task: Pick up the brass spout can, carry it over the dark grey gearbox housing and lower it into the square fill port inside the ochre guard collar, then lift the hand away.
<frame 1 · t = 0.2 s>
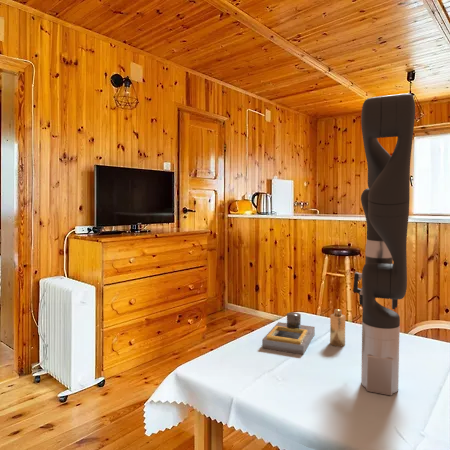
hand: (378, 307, 111), 17 cm above the table, tool pointing down, fingers open, 8 cm apart
gearbox housing: (289, 341, 131), on the table
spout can: (337, 343, 128), on the table
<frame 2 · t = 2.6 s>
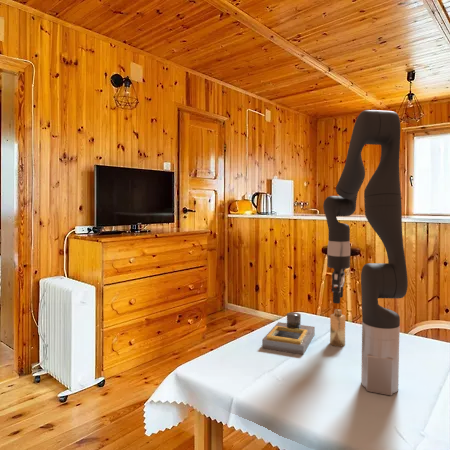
hand: (338, 300, 127), 15 cm above the table, tool pointing down, fingers open, 8 cm apart
nothing on the table moved.
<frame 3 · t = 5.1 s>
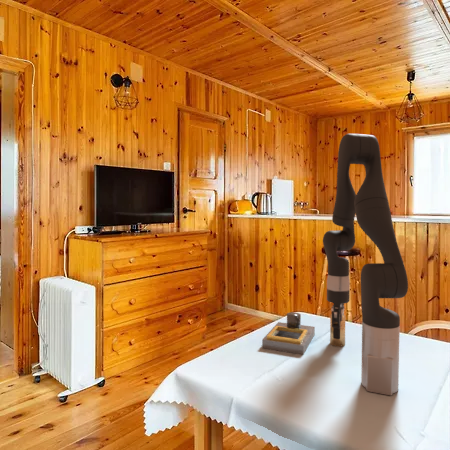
hand: (337, 335, 128), 3 cm above the table, tool pointing down, fingers closed on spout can, 5 cm apart
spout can: (337, 343, 128), on the table, touching gripper
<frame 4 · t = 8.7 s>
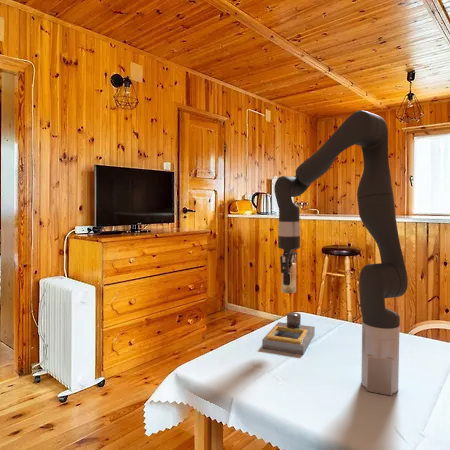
hand: (288, 283, 127), 22 cm above the table, tool pointing down, fingers closed on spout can, 5 cm apart
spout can: (288, 291, 127), point 19 cm above the table, touching gripper
when the fingers open (4 cm above the table, at t = 12.7 s): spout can drops 1 cm, resting in gearbox housing.
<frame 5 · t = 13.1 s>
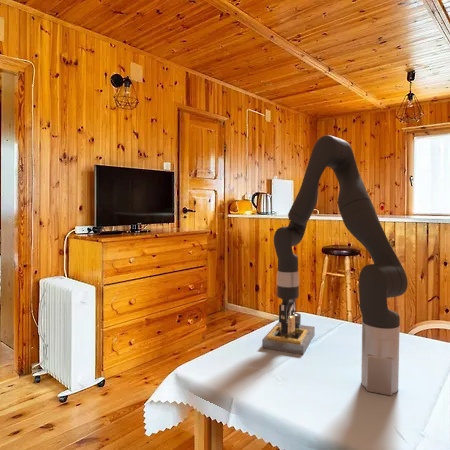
hand: (287, 329, 128), 5 cm above the table, tool pointing down, fingers open, 8 cm apart
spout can: (287, 344, 128), resting in gearbox housing
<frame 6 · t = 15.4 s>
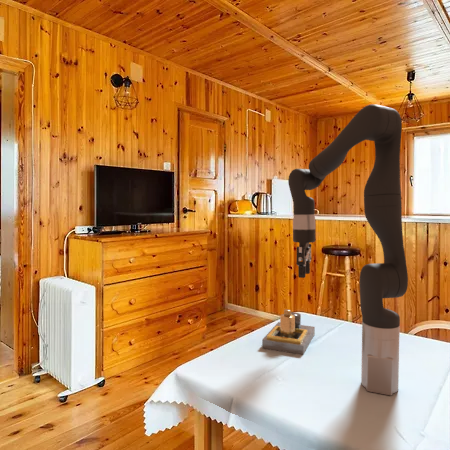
hand: (304, 275, 125), 25 cm above the table, tool pointing down, fingers open, 8 cm apart
nothing on the table moved.
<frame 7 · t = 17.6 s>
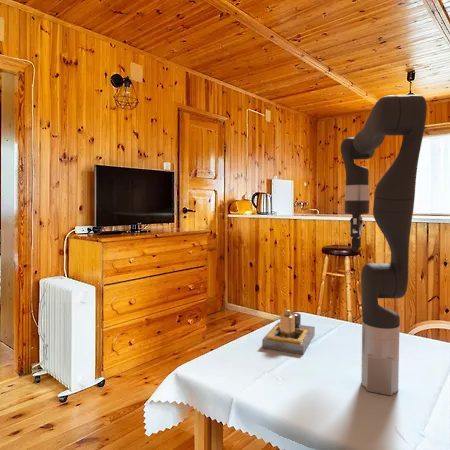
hand: (356, 248, 120), 34 cm above the table, tool pointing down, fingers open, 8 cm apart
nothing on the table moved.
at the end: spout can 0.1 cm from the target spot on the gearbox housing, point 0.0 cm above the gearbox housing's base; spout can tilted 1°; the gripper is holding nothing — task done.
